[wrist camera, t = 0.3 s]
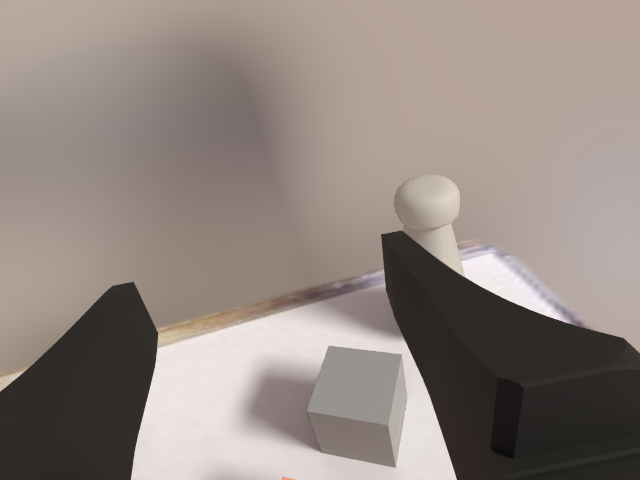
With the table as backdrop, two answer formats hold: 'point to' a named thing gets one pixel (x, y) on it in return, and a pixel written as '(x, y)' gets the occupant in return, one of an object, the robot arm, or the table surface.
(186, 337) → the table surface
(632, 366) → the robot arm
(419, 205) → the salt shaker
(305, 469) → the table surface
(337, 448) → the slate grey block
